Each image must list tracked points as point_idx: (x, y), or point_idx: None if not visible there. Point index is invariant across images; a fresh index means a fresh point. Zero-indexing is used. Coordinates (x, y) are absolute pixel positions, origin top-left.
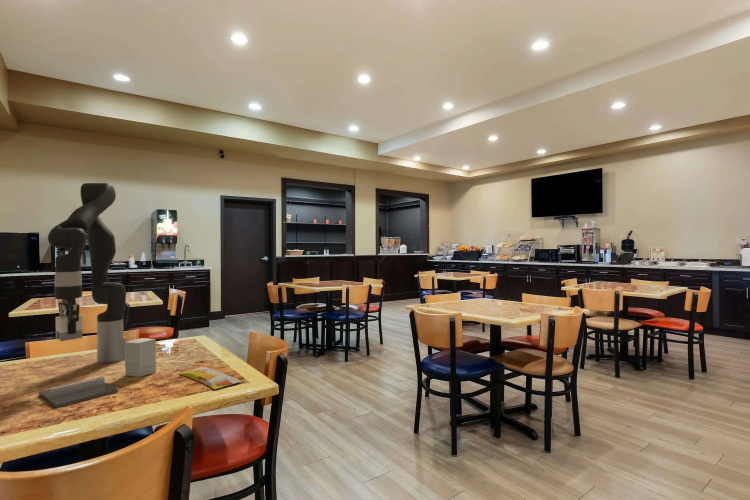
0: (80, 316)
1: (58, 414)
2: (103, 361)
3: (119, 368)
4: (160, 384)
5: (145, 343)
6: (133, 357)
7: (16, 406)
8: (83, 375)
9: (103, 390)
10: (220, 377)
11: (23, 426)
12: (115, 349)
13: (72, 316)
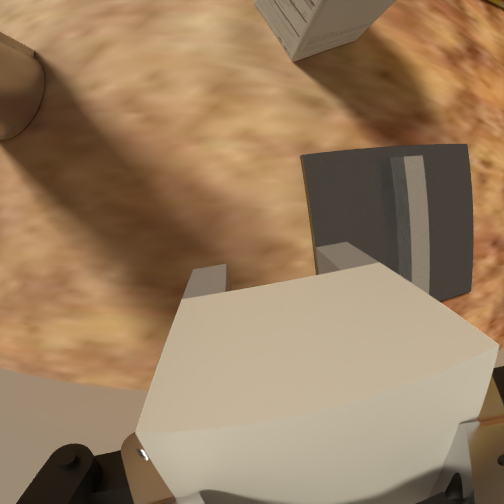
0: (488, 360)
1: (498, 282)
2: (30, 116)
3: (154, 62)
4: (463, 46)
5: None
6: (360, 17)
7: None
8: (158, 188)
9: (457, 176)
10: None
11: (499, 332)
12: (16, 64)
13: (453, 457)
